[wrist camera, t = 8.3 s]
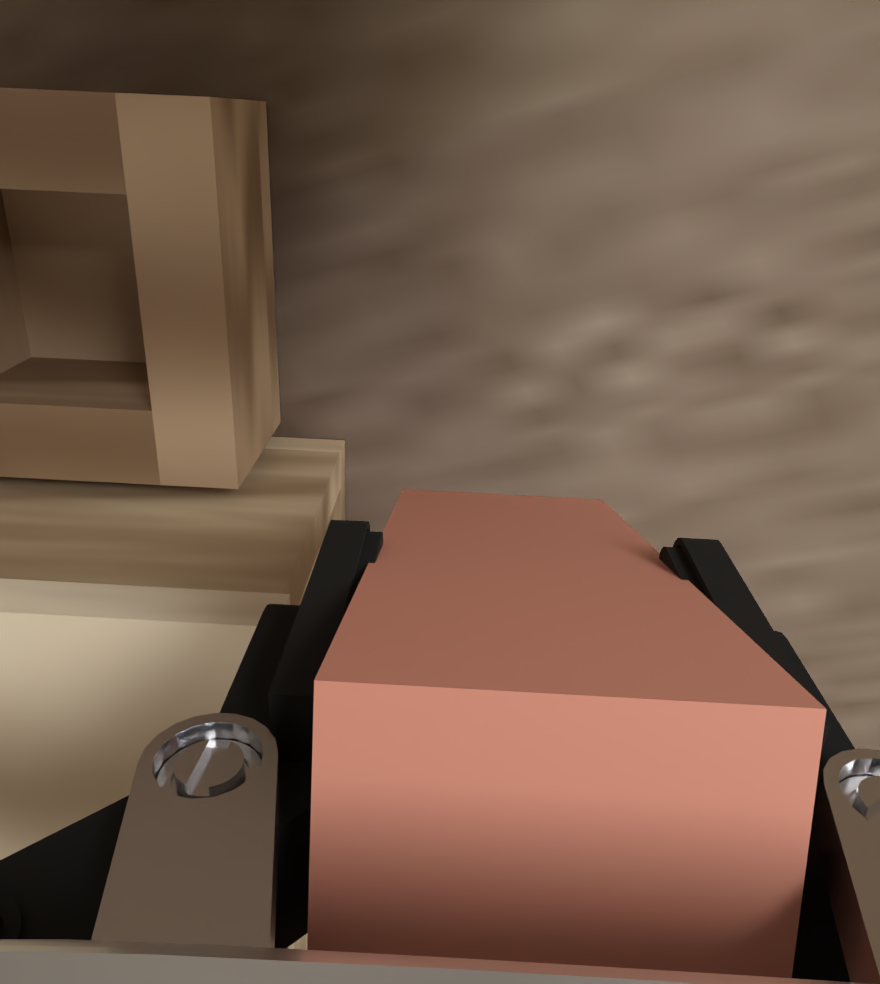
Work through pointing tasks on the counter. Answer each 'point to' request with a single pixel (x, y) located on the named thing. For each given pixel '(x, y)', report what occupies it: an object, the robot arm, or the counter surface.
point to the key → (553, 753)
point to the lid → (104, 688)
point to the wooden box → (147, 351)
